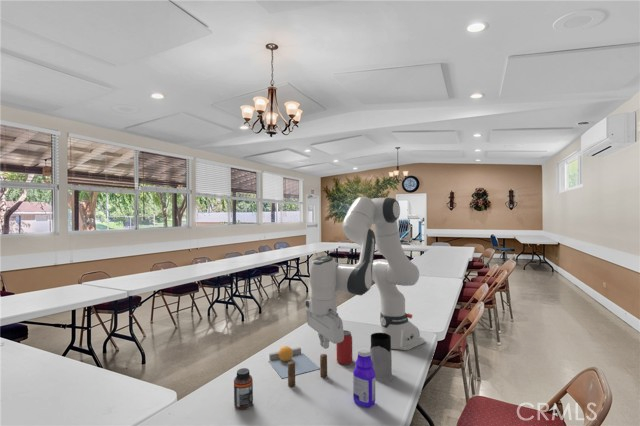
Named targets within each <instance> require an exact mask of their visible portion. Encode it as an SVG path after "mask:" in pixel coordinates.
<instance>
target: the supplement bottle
mask: <svg viewBox="0 0 640 426" xmlns="http://www.w3.org/2000/svg"><path fill="white" fill-rule="evenodd" d="M253 383H254V382H253V376H252V375H251V374H250V369H249V368H248V367H247V368H246V367H243V368H239V369H237V371H236V376H235V377H234V380H233V399H234V400H233V402H234V403H233V405H234V408H235V409H237V410H239V411H240V410H241V411H245V410H248V409H249V408H251V407H252V406H253V404H254V392H253V391H254V387H253V386H254V385H253Z"/></svg>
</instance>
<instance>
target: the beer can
mask: <svg viewBox="0 0 640 426" xmlns="http://www.w3.org/2000/svg"><path fill="white" fill-rule="evenodd" d="M343 331H344V340H343V342H340V343H336V362H337V363H338V364H341V365H349V364H351V363H353V336H352V332H351V331H349V330H346V329H343Z"/></svg>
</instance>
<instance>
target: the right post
mask: <svg viewBox="0 0 640 426" xmlns="http://www.w3.org/2000/svg"><path fill="white" fill-rule="evenodd" d="M319 362H320V363H319V364H320V365H319V368H320V369H319V371H320V375H319V376H320V378H321V379H326V378H328V355H327V354H326V353H321V354H320V358H319Z"/></svg>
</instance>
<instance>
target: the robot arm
mask: <svg viewBox="0 0 640 426" xmlns="http://www.w3.org/2000/svg"><path fill="white" fill-rule="evenodd" d="M400 214H401V207H400V203H399V202H398V201H397V199H396V198H393V197H375V198H374V197H372V198H369V197H367V196H359V197H357V198H355V199H354V201H353V202H352V203H351V205H350V206H349V208H348V210H347V212H346V214H345V217H344V219H343V221H342V226H341V227H342V232H343V234H344V235H345V237H346V238H347V239H348V240H349V241H350V242H353V243H355V244H357V245H359V246H361V247H360V253H359V258H358V259H359V260H358V262H357V263H355V264H350V263H349V264H348V263H339V262H336V261H335V258H333V257H332V256H330V255H324V256H318V257H315V258H314V259H312V260H311V265H310V271H309V286H310V289H311V291H310V297H309V298H310V299H306V300H304V307H305V317H306V323H307V325H308V326H309V328H311V329H312V330H314V331H315V332H317V335H318V340H319V341H320V342H319V345H320V346H321V347H322V348H323V349H326V350H327V349H329V347H330V344H329V343H330V342H331V343H333V344H336V345H337V343H340V342H343V340H344V331H343V330H344V324H343V319H342V318H341V317H340V316H339V313H338V312H337V311H338V297H337V296H338V295H337V292H342V293H347V294H348V293H349V294H351V295H357V296H361V297H362V296H363V295H365V294H366V293H367V292H369V290H370V289H372V283H373V282H374V283H375V285H376V288H377V289H378V292H379V295H380V296H379V297H380V309H381V310H380V316H379V317H380V318H379V319H380V331H379V333H384V332H386V334H389V335H390V336H391V350H392V349H393V350H402V351H409V350H411V349H414V348H416V347H419V346H421V345H423V344H425V343H426V340H425V338H424V337H422V336H421V333H420V330H419V328H418V327H417V326H416V325H415V324H414V323H413V322H411V321H410V320H409V319H413V314H411V313H410V312H408V313H406V298H405V295H404V293H402V292H401V291H400V290H399V289H398V287H397V286H400V287H401V286H402V287H410V286H416V284H417V283H418V282H419V279H420V271H419V268H418V266H417V265H416V264H414V263H413V262H412V261H411V260H410V259H409V257H408V256H407V255H406V253H405V251H404V249H403V247H402V242H401V238H400V233H399V232H400V231H399V227H398V222H397V220H398V219H399V217H400ZM372 225H373V230H372ZM375 250H377V251H378V254H380V255H382V256H383V258H378V259H374V258H375Z"/></svg>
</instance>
